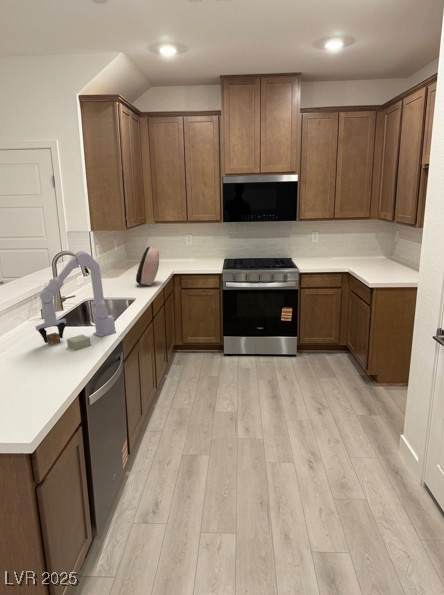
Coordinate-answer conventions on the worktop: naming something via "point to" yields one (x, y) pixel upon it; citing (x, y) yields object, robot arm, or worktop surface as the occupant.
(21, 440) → the worktop surface
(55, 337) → the walnut cube
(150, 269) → the pink rounded shell
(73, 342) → the sage base block
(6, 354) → the worktop surface
